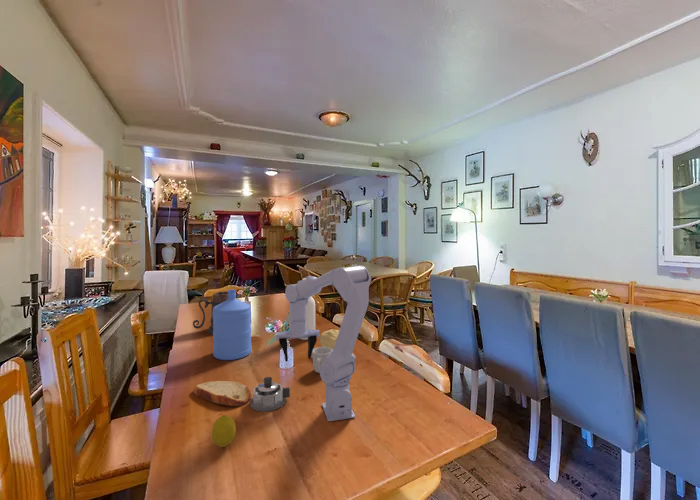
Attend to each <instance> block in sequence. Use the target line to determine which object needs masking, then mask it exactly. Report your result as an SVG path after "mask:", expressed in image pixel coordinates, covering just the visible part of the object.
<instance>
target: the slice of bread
mask: <svg viewBox="0 0 700 500" xmlns="http://www.w3.org/2000/svg"><path fill="white" fill-rule="evenodd" d="M193 393H194V394H195V395H196V396H197V397H198V398H199V397H200V399H204V400H205V401H208V402H210V403H213V404H216V405H221V406H228V407H242V406H245V405H246V406H247V404H248V403H250V401H251V399H252V393H251V390H250V388H249V386H248V385H246V384H244V383H243V382H241V381H240V382H238V381H234V380H232V381H231V380H230V381H229V380H228V381H226V380H216V381H215V380H214V381H212V380H211V381H206V382H202V383H199V384H196V386H195V388H194V390H193Z"/></svg>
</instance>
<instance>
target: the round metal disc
mask: <svg viewBox="0 0 700 500" xmlns="http://www.w3.org/2000/svg"><path fill="white" fill-rule="evenodd" d="M286 403H287V398H283V402H282V403H280V404H279V405H277V406H276V407H273V408H266V409H263V408H262V409H261V408H258V407H256V406H254V405H253V397H251V400H250V401H249V408H251V410H253V411H256V412H262V413H264V412H272V411H276V410H278V409H280V408H282V407H283V406H284V405H285V404H286Z"/></svg>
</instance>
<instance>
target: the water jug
mask: <svg viewBox="0 0 700 500" xmlns="http://www.w3.org/2000/svg"><path fill="white" fill-rule="evenodd" d="M236 291H237V290H236V289H229V290H228V289H227V292H228V300H227V301H225V302H223V303H221V304H219V305H217V306H215V307H214V308H213V334H212V337H213V351H212V354H213V357H214V358H215V359H217V360H221V361H235V360H239V359H242V358H245V357H248V356H249V355H250V354H251V353H252V318H251V317H252V308H251V305H250V304H249V303H246V302H244V301H241V300H238V299H237V298H236V296H237V294H236Z"/></svg>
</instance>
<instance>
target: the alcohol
mask: <svg viewBox="0 0 700 500" xmlns="http://www.w3.org/2000/svg"><path fill="white" fill-rule="evenodd" d="M305 279H306V277H304V278H302V281H303V280H305ZM306 330H316V301H315V298H313V296H311V297H309V298H308V304H307V305H306ZM298 339H299V340H302V341H308V337H305V338H298Z"/></svg>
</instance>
